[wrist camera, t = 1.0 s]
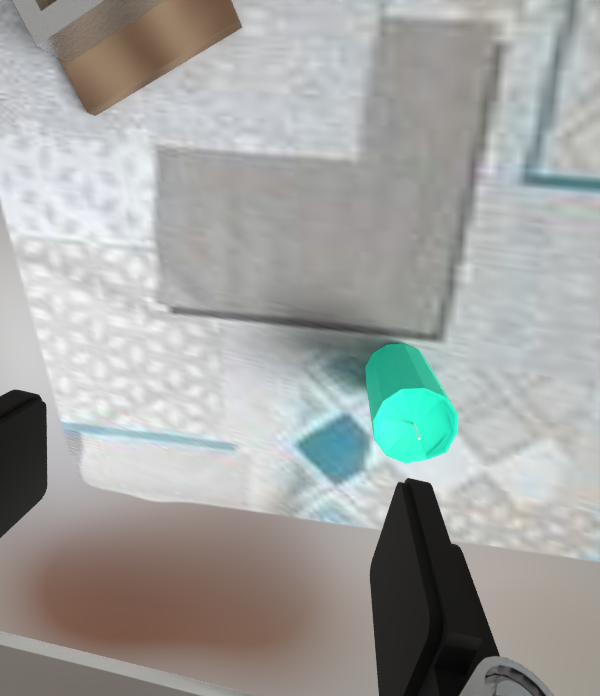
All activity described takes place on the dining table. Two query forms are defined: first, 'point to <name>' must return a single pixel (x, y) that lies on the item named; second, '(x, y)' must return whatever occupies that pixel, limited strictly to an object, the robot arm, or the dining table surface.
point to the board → (149, 49)
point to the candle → (408, 405)
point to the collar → (78, 22)
